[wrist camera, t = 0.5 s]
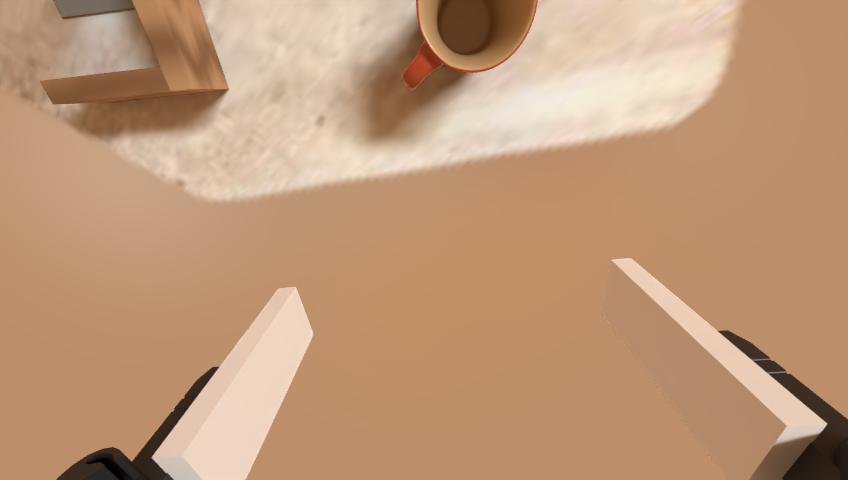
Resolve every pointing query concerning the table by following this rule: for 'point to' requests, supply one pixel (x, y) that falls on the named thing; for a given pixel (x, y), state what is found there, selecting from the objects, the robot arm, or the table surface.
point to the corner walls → (175, 51)
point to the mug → (467, 35)
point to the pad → (91, 6)
